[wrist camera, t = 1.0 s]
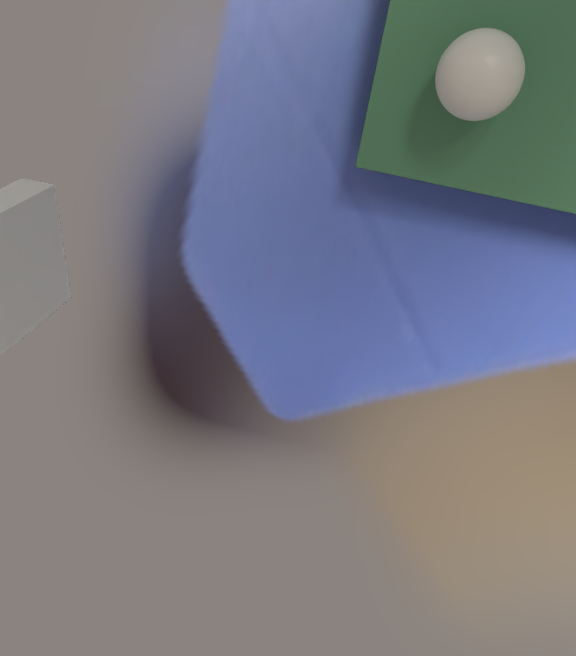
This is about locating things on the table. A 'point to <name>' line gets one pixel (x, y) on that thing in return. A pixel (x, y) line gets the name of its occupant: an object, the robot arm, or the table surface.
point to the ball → (480, 74)
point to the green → (485, 135)
